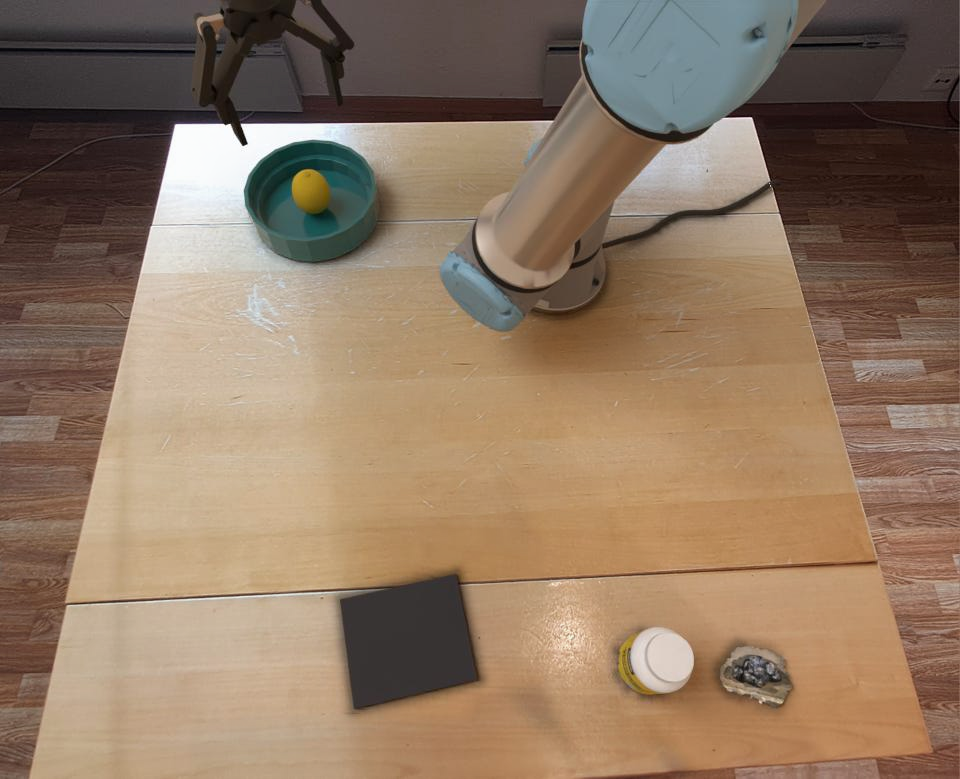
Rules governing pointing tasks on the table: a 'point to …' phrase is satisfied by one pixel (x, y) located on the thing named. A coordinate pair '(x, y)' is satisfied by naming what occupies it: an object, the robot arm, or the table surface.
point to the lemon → (311, 191)
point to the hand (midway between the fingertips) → (289, 118)
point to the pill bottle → (655, 661)
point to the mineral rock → (756, 675)
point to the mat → (406, 641)
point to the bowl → (302, 231)
